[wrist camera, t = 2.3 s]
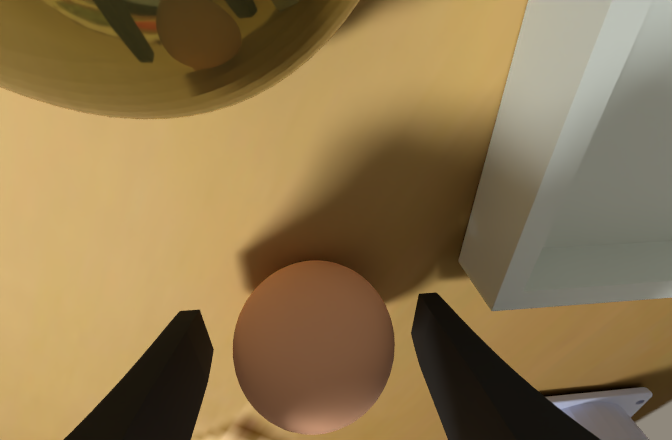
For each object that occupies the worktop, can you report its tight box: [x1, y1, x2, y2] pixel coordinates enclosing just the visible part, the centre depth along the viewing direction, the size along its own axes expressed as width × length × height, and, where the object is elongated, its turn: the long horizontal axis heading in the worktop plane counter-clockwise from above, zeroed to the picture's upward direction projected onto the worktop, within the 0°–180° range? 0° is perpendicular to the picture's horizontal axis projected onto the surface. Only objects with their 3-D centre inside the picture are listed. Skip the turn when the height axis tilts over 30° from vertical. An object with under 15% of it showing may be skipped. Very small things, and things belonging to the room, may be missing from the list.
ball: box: [233, 260, 395, 435], centre depth 10 cm, size 5×5×5 cm
